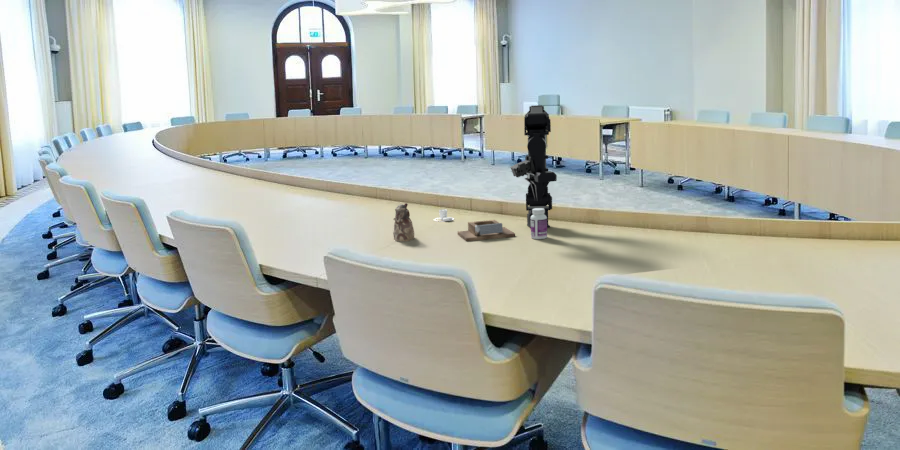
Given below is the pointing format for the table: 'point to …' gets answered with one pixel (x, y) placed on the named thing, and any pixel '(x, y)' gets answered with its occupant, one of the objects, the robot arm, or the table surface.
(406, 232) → the figurine
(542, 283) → the table surface
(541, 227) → the pill bottle
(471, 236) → the cradle board
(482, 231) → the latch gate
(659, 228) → the table surface
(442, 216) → the teacup and saucer
